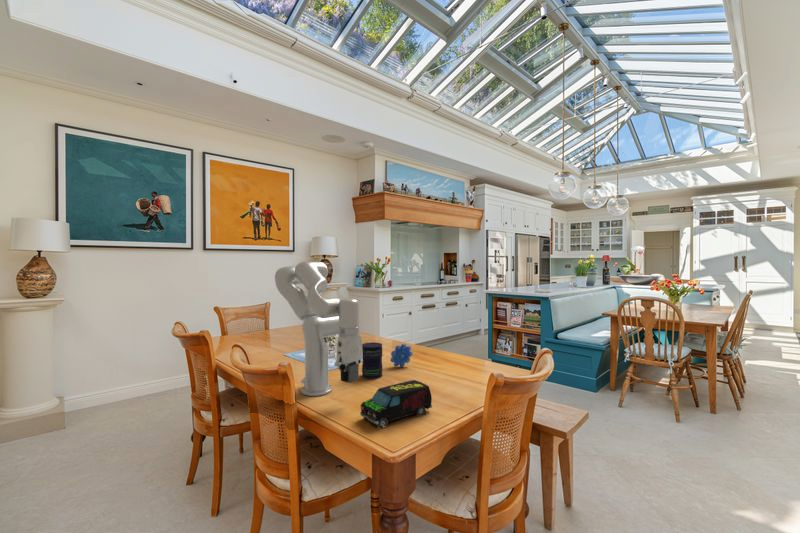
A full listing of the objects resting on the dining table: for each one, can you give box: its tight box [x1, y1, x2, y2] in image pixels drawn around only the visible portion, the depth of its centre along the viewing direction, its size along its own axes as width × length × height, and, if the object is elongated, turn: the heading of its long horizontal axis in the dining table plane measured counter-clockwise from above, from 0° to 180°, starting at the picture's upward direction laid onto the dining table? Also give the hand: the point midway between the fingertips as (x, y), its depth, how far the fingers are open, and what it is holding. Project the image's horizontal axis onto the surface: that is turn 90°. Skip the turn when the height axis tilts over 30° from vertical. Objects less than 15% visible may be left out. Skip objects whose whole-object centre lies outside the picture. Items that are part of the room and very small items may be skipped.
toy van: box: [359, 379, 433, 429], centre depth 125 cm, size 11×25×10 cm, turn 126°
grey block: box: [343, 363, 360, 384], centre depth 135 cm, size 5×4×6 cm
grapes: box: [390, 343, 413, 367], centre depth 186 cm, size 12×7×12 cm, turn 100°
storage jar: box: [361, 341, 384, 380], centre depth 170 cm, size 10×10×15 cm
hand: (349, 379), depth 135 cm, fingers closed on grey block, 4 cm apart
